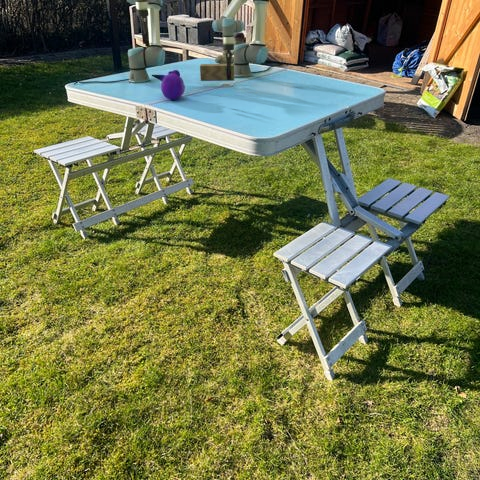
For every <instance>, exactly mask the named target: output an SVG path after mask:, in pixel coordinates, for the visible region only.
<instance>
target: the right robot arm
mask: <svg viewBox="0 0 480 480" xmlns="http://www.w3.org/2000/svg"><path fill="white" fill-rule="evenodd" d="M247 2H248V0H231V2H229V4H228V5H227V7H226V9H225V10H224V11H223V13H222V14H221V15H220V16H219V19H214V20H213V21H212V24H211V25H212V26H211V27H212V30H213V31H214V32H217V33H222V43H223V44H222V50H223V51H224V50H227V53H226V60H227V69H226V70H227V80H231V56H232V51H234V55H233V56H232V57H233V59H234V63H233V64H234V78H238V79H245V78H250V77H252V75H253V74H257V73H258V74H259V73H264V72H267V71H269V69H270V68H273V67H277V66H278V67H280V68H281V67H282V65H281V64H273V65H270V66H268V67H267V68H266V69H264V70H258V71H251V67H250V64H251V63H252V64H264V63H265V62H266V61H267V59H268V56H269V48H268V47H267V46H266V45H267V44H266V42H265V31H266V20H267V18H266V17H267V6H268V5H269V3H270V0H252V3H253V5H254V8H253V25H252V37H251V39H252V40H251V41H250V43H238V44H234V43H235V40H236V38H235V34H237V33H242V32H244V30H245V22H244V21H243V20H241V19H237V20H236V19H234V18H235V17H236V15H237V14H238V12H239V11H240V9H241V7H243V6H244V4H246V3H247Z"/></svg>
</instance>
